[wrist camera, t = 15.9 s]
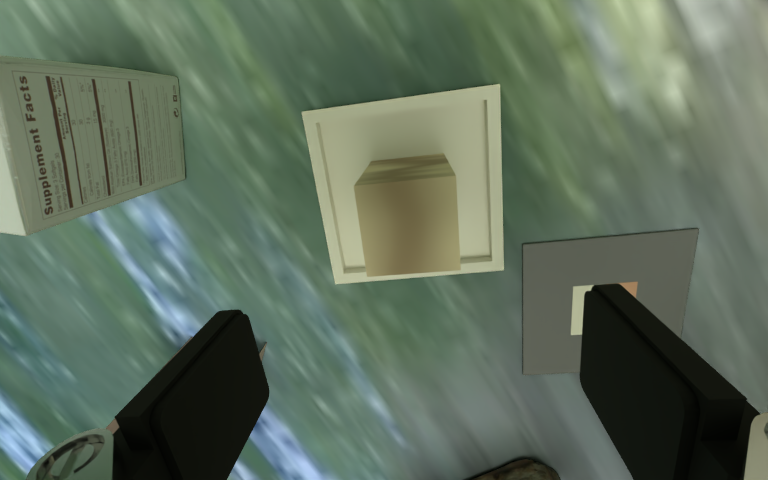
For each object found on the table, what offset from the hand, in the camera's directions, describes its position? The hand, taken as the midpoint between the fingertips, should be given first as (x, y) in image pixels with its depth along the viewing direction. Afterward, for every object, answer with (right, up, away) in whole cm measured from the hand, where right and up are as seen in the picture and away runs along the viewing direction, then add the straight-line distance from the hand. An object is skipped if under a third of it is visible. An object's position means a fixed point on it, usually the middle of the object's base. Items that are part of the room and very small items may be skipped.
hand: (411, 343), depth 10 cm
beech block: (+1, +6, +16) cm, 17 cm away
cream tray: (+1, +7, +17) cm, 18 cm away
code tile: (+16, -2, +19) cm, 25 cm away
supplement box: (-19, +11, +17) cm, 27 cm away
